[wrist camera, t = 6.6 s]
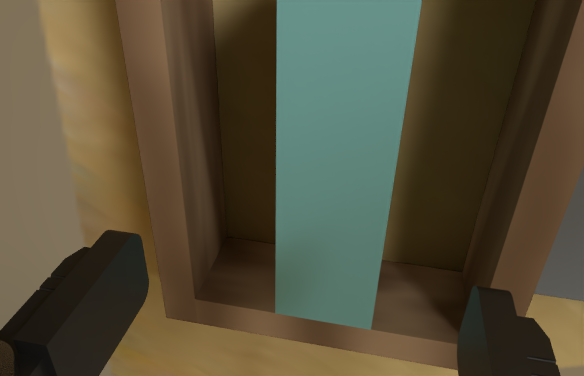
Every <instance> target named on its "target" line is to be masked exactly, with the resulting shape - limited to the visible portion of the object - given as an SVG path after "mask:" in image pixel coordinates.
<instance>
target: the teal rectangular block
mask: <svg viewBox="0 0 584 376" xmlns="http://www.w3.org/2000/svg"><path fill="white" fill-rule="evenodd" d="M421 3H422V0H277V69H276V270H275V313H276V314H282V315H287V316H293V317H299V318H305V319H311V320H316V321H322V322H328V323H334V324H340V325H346V326H351V327H357V328H363V329H369V330H371V326H372V319H373V313H374V306H375V300H376V294H377V287H378V281H379V274H380V268H381V261H382V255H383V248H384V242H385V235H386V229H387V223H388V216H389V210H390V203H391V197H392V190H393V184H394V177H395V171H396V164H397V158H398V152H399V145H400V139H401V132H402V126H403V119H404V113H405V106H406V100H407V94H408V87H409V81H410V74H411V68H412V61H413V55H414V48H415V42H416V35H417V29H418V23H419V16H420V10H421Z"/></svg>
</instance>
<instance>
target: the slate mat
mask: <svg viewBox="0 0 584 376" xmlns="http://www.w3.org/2000/svg"><path fill="white" fill-rule="evenodd" d="M534 294H540V295H547V296H553V297H560V298H566V299H573V300H579V301H584V166H583V168H582V171H581V174H580V176H579V179H578V181H577V184H576V186H575V189H574V192H573V194H572V197H571V199H570V202H569V204H568V207H567V210H566V212H565V215H564V217H563V220H562V222H561V225H560V228H559V230H558V233H557V235H556V238H555V240H554V243H553V246H552V248H551V251H550V253H549V256H548V258H547V261H546V264H545V266H544V269H543V271H542V274H541V276H540V279H539V282H538V284H537V287H536V289H535V292H534Z"/></svg>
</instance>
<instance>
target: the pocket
mask: <svg viewBox="0 0 584 376" xmlns="http://www.w3.org/2000/svg"><path fill="white" fill-rule="evenodd" d="M115 3H116V9H117V15H118V22H119V28H120V34H121V40H122V46H123V52H124V59H125V65H126V71H127V77H128V83H129V89H130V95H131V102H132V108H133V114H134V120H135V126H136V132H137V139H138V145H139V151H140V157H141V163H142V169H143V176H144V182H145V188H146V194H147V200H148V206H149V212H150V219H151V225H152V231H153V237H154V243H155V249H156V256H157V262H158V268H159V274H160V280H161V286H162V293H163V299H164V305H165V311H166V317H167V318H171V319H177V320H182V321H188V322H194V323H199V324H205V325H210V326H216V327H221V328H227V329H232V330H238V331H244V332H249V333H255V334H260V335H266V336H271V337H277V338H283V339H288V340H294V341H299V342H305V343H310V344H316V345H321V346H327V347H333V348H338V349H344V350H349V351H355V352H360V353H366V354H371V355H377V356H383V357H388V358H394V359H399V360H405V361H410V362H416V363H421V364H427V365H433V366H438V367H444V368H449V369H455V370H458V365H457V342H458V336H459V331H460V328H461V324H462V321H463V318H464V314H465V311H466V307H467V304H468V301H469V297H470V294H471V291H472V289H473V287H474V286H481V287H487V288H494V289H501V290H507V291H510V292H511V294H512V297H513V301H514V305H515V309H516V313H517V316H521V317H525V315H526V312H527V310H528V307H529V305H530V302H531V300H532V297H533V294H534V292H535V289H536V287H537V284H538V282H539V279H540V276H541V274H542V271H543V269H544V266H545V264H546V261H547V258H548V256H549V253H550V251H551V248H552V246H553V243H554V240H555V238H556V235H557V233H558V230H559V228H560V225H561V222H562V220H563V217H564V215H565V212H566V210H567V207H568V204H569V202H570V199H571V197H572V194H573V192H574V189H575V186H576V184H577V181H578V179H579V176H580V174H581V171H582V168H583V166H584V0H536V4H535V8H534V11H533V15H532V19H531V22H530V26H529V30H528V33H527V37H526V41H525V44H524V48H523V52H522V55H521V59H520V63H519V66H518V70H517V74H516V77H515V81H514V85H513V88H512V92H511V96H510V99H509V103H508V107H507V110H506V114H505V117H504V121H503V125H502V128H501V132H500V136H499V139H498V143H497V147H496V150H495V154H494V158H493V161H492V165H491V169H490V172H489V176H488V180H487V183H486V187H485V191H484V194H483V198H482V202H481V205H480V209H479V213H478V216H477V220H476V223H475V227H474V231H473V234H472V238H471V242H470V245H469V249H468V253H467V256H466V260H465V264H464V267H463V271H462V272H457V271H450V270H444V269H437V268H430V267H424V266H417V265H410V264H403V263H397V262H390V261H383V260H382V261H381V268H380V274H379V281H378V287H377V294H376V300H375V306H374V313H373V319H372V326H371V330H369V329H363V328H357V327H351V326H346V325H340V324H334V323H328V322H322V321H316V320H311V319H305V318H299V317H293V316H287V315H282V314H276V313H275V270H276V244H269V243H263V242H256V241H249V240H243V239H236V238H229V237H227V231H226V215H225V199H224V183H223V166H222V150H221V134H220V118H219V102H218V86H217V70H216V53H215V37H214V21H213V5H212V0H115Z"/></svg>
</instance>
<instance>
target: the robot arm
mask: <svg viewBox="0 0 584 376" xmlns="http://www.w3.org/2000/svg"><path fill="white" fill-rule="evenodd" d="M148 287H149V279H148V273H147V267H146V262H145V256H144V250H143V244H142V240H141V237H140V236H139V235H138V234H134V233H128V232H121V231H114V230H107V231H105V232H104V233H103V234H102V235H101V237H100V238H99V239H98V240H97V241H96V242H95V244H94V245H93V246H92V247H91V248H89V247H83V248H82V249H80V250H78V251H77V252H75V253H74V254H72V255H70V256H69V257H67V258H65V259H64V260H63V262H62V263H61V264H60V265H59V266H58V267H57V268H56V269H55V270H54V271H53V273H52V274H51V277H49V278H47V279H46V280H45V282H44V283H43V284H42V285H41V286H40V289H39V290H36V292H35V293H34V294H33V295H32V296H31V297H30V298H29V299H28V300H27V302H26V303H25V304H24V305H23V306H22V307H21V308H20V309H19V311H18V312H17V313H16V314H15V315H14V316H13V317H12V318H11V319H10V320H9V322H8V323H7V324H6V325H5V326H4V327H3V328H2V329H1V330H0V376H99V375H100V373H101V371H102V370H103V368H104V366H105V365H106V364H107V362H108V360H109V359H110V357H111V355H112V354H113V352H114V351H115V349H116V347H117V346H118V344H119V343H120V341H121V339H122V338H123V336H124V335H125V333H126V331H127V330H128V328H129V326H130V325H131V323H132V322H133V320H134V318H135V317H136V315H137V314H138V312H139V310H140V309H141V307H142V306H143V304H144V302H145V299H146V296H147V293H148ZM457 365H458V375H459V376H560V372H559V369H558V366H557V365H556V359H555V356H554V352H553V349H552V346H551V342H550V339H549V338H548V336H547V335H546V334H545V332H544V331H543V330H542V329H541V327H540V326H539V325H538V324H537V322H536V321H535V320H534V319H533V318H527V317H521V316H517V313H516V309H515V305H514V301H513V297H512V294H511V292H510V291H507V290H501V289H494V288H487V287H481V286H474V287H473V289H472V291H471V294H470V297H469V301H468V304H467V307H466V311H465V314H464V318H463V321H462V324H461V328H460V331H459V336H458V342H457Z"/></svg>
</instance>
